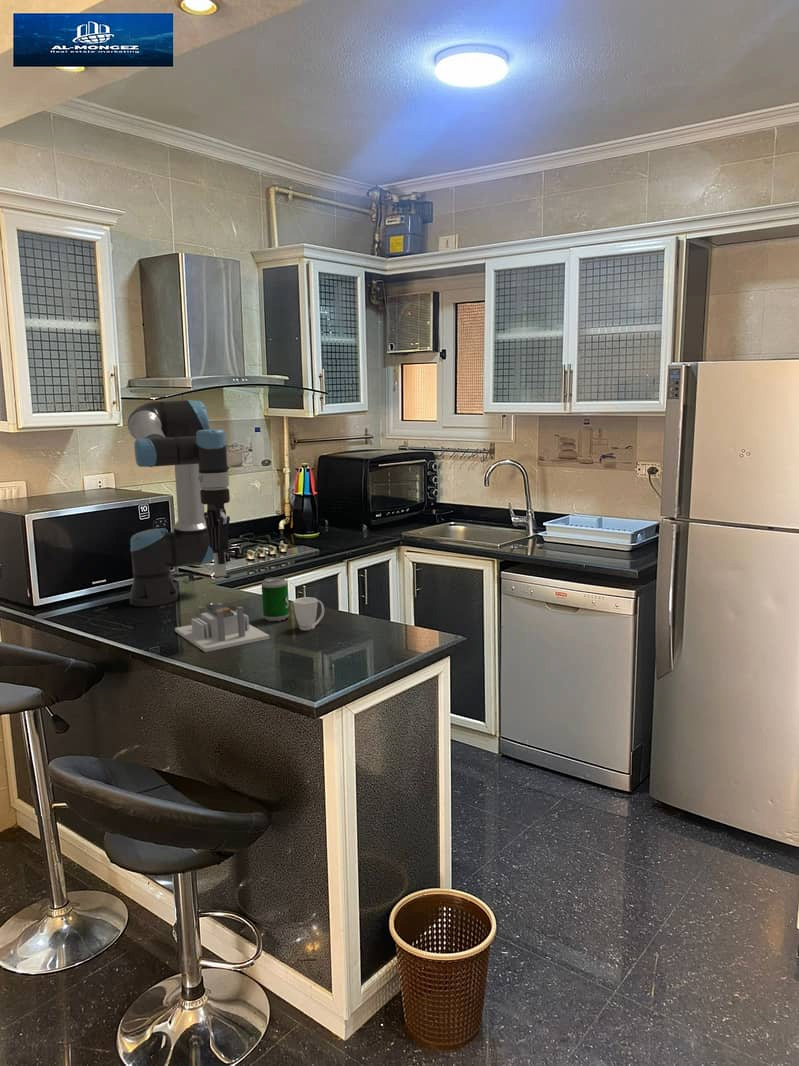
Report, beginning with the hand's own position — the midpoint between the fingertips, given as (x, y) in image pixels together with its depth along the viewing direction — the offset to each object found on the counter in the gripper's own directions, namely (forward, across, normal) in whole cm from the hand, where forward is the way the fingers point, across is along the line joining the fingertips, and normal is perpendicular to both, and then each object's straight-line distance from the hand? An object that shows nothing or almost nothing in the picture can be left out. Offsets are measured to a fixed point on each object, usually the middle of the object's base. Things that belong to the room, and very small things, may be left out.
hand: (220, 575), depth 212 cm
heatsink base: (+17, -3, 0) cm, 18 cm away
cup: (+18, +6, +23) cm, 30 cm away
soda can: (+18, -8, +19) cm, 27 cm away
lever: (+11, -3, 0) cm, 11 cm away
